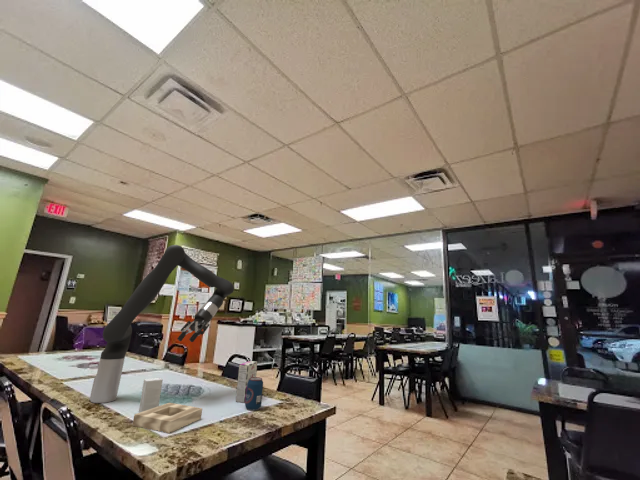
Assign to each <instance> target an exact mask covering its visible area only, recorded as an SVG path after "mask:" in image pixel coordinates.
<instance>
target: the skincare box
mask: <svg viewBox="0 0 640 480" xmlns="http://www.w3.org/2000/svg"><path fill="white" fill-rule="evenodd" d="M162 386H163V379H162V378H161V377H156V378H155V377H154V378H145V379H143V384H142V391H141V395H140V401H139V408H138V413H139V412H143V411H146V410H149V409H152V408H155V407H158V406H160V401H161V400H160V398H161V393H162Z"/></svg>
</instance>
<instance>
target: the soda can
mask: <svg viewBox="0 0 640 480" xmlns="http://www.w3.org/2000/svg"><path fill="white" fill-rule="evenodd" d="M263 390H264V381H263V377H260V376H259V377H258V376H256V377H251V378H249V381H248V383H247V392H246V401H245V403H244V406H245V408H246V410H247V411H258V410H260V408H261V407H262V404H263V403H262V402H263V401H262V400H263V392H264V391H263Z"/></svg>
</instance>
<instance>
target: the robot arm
mask: <svg viewBox="0 0 640 480" xmlns="http://www.w3.org/2000/svg"><path fill="white" fill-rule="evenodd" d="M185 251H186V250H185V249H184V248H183V247H182V246H181V245H178V244H171V245H169V246H168V247H166V248H165V251H164V252H163V255H162V256H161V258H160V259H159V261H158V262H157V264H156V265H155V267H154V268H153V269H152V270H151V271H150V272H149V273H148V274H147V275H145V277H144V278H143V279H142V280H141V282H140V283H139V284H138V285H137V287H136V288H135V290H134V291H133V292H132V294H131V295H130V296H129V298H128V299H127V301H126V302H125V303H124V305H123V306H122V308H121V309H120V310H119V311H118V313H116V314H115V316H114V317H113V318H112V319H111V320H110V321H109V322H108V324H107V325H105V327H104V329H103V331H102V338H103V340H104V341H105V342H107V343H106V345H105V348H104V349H103V350H102V351H101V353H100V357H99V362H98V366H97V372H96V375H95V376H94V377H93V382H92V387H91V391H90V395H89V401H90V402H91V403H95V404H102V403H103V404H105V403H110V402H113V401H116V400H117V398H118V393H119V387H120V383H121V379H122V373H123V368H124V362H125V360H126V359H125V358H126V354H127V352H128V350H129V348H130V344H131V340H132V339H131V338H132V334H133V327H132V323H133V322H134V320H135V319H136V318H137V317H138V316H139V314H141V313H142V312H143V311H144V310H145V309H147V307H148V306H149V305H151V304H152V303H153V301H154V300H155V298H156V297H157V296H158V294H159V293H160V292H161V290H162V289H163V287H164V285H165V283H166V282H167V280H168V278H169V276H170V275H171V274H172V272H173V271H174V270H175V269H176V268H177V267H178V266H179V267H180V268H182V269H184V270H185V271H187V272H188V273H190V274H191V275H192V276H194V278H195V279H197V280H199V281H200V282H201V283H202V284H204V285H206V286H207V287H208V288H215V290H214V292H213V294H212V295H211V296H210V297H209V298H208V300H207V301H206V302H205V303H204V304H203V305H202V306H201V307H200V308H199V310H198V311H197V312H196V314H194V316H193V317H194V320H192V321H191V320H188V321H187V322H186V323H185V324H184V325H183V327H181V329H180V332H181V333H180V334H179V336H178V337H177V340H178V341H179V342H182V341H183V340H184V339H185V337H186V336H187V335H188V334H190V333H192V332H193V333H192V335H191V336H190V338H189V340H188V341H190V342H191V343H194V342H195V341H196V339H197V338H198V337H199V336H203V335H204V334H205V333H206V331H207V330H208V328H209V326H210V324H209V323H210V322H211V321H212V319H213V318H214V317H215V315H216V314H217V312H218V311H219V309H221V307H222V305H223V304H224V301H225V299H226V298H227V297H228V296H230V295H231V294H233V293H234V292H235V286H234V284H233V283H232V282H231V281H230V280H228V279H226V278H223V277H220V276H218V275H217V274H215V273H214V272H213V271H211V270H210V269H208V268H207V267H206V266H204V265H203V264H202V265H201V264H200V263H199V262H197V261H196V260H194V259H193V258H192V257H190V256H189V255H188V254H187V253H186V252H185Z"/></svg>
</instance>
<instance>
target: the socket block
mask: <svg viewBox="0 0 640 480" xmlns="http://www.w3.org/2000/svg"><path fill="white" fill-rule="evenodd" d="M202 413H203V408H201V407H196V406H189V405H185V404H180V403H175V402H167V403H164V404H161V405H159V406H158V407H155V408H152V409H149V410H146V411H143V412H140V413H139V412H137V413H135V414H134V415H133V420H132V424H131V425H132V426H133V427H137V428H141V427H143V428H142V429H146V428H147V430H151V429H152V431H155V430H158V431H157V432H160V431H163V432H162V433H165V432H166V433H165V434H171V433H173V432H175V431H177V430H179V429H182V428H183V426H184V427H186V426H187V425H190V424H192V422H193V423H194V422H197V421H199V420H201V419H202ZM181 427H182V428H181ZM170 432H171V433H170Z"/></svg>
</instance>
